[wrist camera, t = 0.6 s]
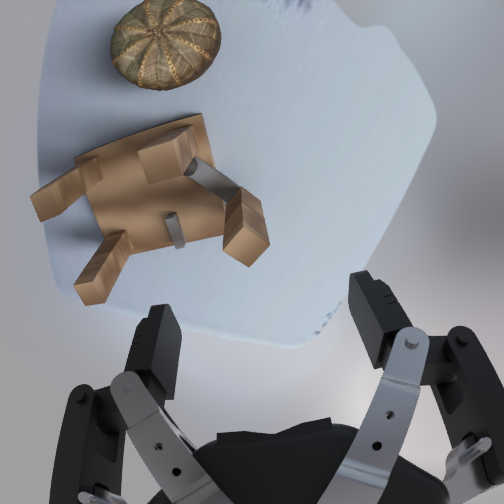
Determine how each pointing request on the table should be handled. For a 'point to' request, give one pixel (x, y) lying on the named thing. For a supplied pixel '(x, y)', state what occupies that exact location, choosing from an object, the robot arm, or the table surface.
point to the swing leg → (234, 213)
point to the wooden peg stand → (138, 198)
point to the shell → (165, 43)
